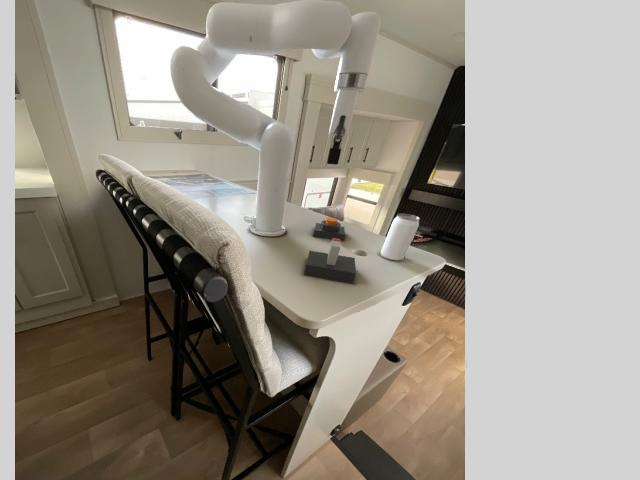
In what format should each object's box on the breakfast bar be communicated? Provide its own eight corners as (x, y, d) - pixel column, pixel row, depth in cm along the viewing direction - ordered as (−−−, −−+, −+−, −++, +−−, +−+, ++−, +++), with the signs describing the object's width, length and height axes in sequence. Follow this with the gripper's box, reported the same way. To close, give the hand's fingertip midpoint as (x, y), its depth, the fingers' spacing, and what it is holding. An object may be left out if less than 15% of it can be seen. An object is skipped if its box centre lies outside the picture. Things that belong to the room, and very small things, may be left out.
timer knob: (335, 265, 63) (340, 246, 60) (326, 264, 63) (332, 245, 60) (335, 257, 67) (340, 238, 64) (327, 256, 67) (332, 237, 64)
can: (406, 262, 73) (425, 221, 66) (382, 259, 74) (399, 219, 67) (399, 253, 78) (416, 214, 71) (377, 250, 79) (392, 212, 72)
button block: (312, 236, 87) (315, 224, 85) (314, 228, 93) (317, 217, 91) (343, 240, 85) (346, 229, 82) (342, 232, 91) (345, 221, 89)
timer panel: (303, 274, 65) (306, 264, 63) (307, 260, 72) (309, 250, 70) (352, 283, 62) (356, 273, 60) (351, 267, 69) (354, 257, 67)
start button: (325, 225, 86) (326, 220, 85) (325, 222, 89) (326, 217, 88) (336, 226, 85) (337, 221, 84) (336, 223, 88) (337, 218, 87)
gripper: (335, 87, 72) (321, 160, 83) (334, 80, 60) (318, 166, 71) (363, 88, 70) (344, 162, 81) (367, 81, 59) (345, 168, 69)
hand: (332, 163), depth 76 cm, fingers closed
